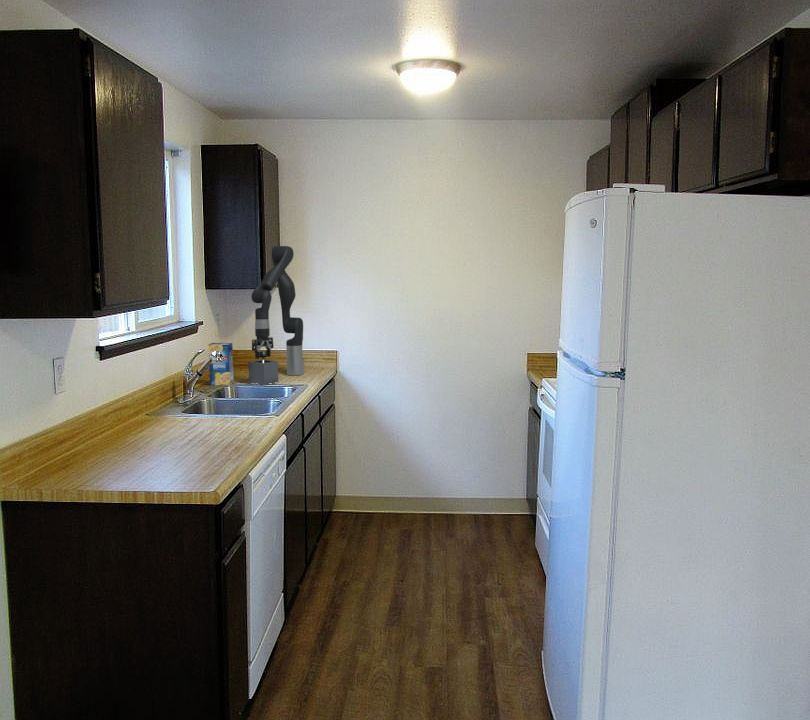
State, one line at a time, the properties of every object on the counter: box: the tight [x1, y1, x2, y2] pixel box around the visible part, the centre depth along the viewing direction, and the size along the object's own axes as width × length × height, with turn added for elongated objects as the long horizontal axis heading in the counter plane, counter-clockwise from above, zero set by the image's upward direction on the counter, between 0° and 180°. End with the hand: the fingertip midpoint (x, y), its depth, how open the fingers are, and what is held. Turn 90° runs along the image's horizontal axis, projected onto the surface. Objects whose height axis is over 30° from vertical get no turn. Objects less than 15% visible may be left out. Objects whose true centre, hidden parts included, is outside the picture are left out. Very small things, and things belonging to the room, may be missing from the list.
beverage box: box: [208, 342, 235, 386], centre depth 394 cm, size 7×11×22 cm, turn 87°
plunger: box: [259, 350, 268, 363], centre depth 397 cm, size 8×8×16 cm
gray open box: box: [247, 359, 279, 385], centre depth 398 cm, size 11×11×12 cm
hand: (263, 357), depth 396 cm, fingers open, 8 cm apart
